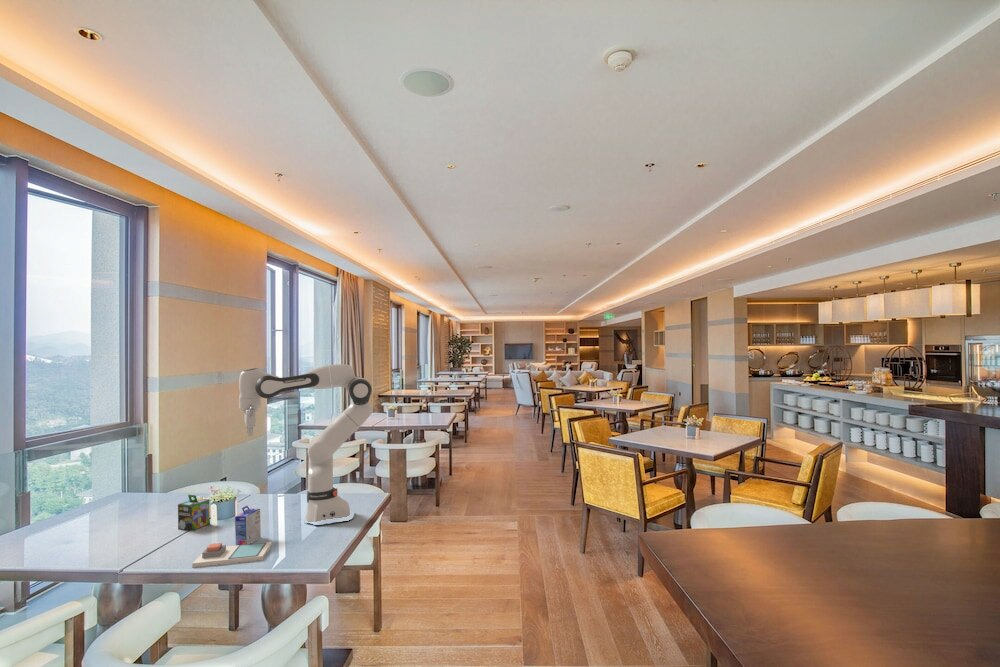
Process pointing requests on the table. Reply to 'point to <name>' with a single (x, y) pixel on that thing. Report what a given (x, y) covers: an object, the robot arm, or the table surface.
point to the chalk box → (193, 513)
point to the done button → (214, 547)
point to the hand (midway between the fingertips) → (250, 434)
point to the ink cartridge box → (247, 526)
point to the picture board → (233, 554)
